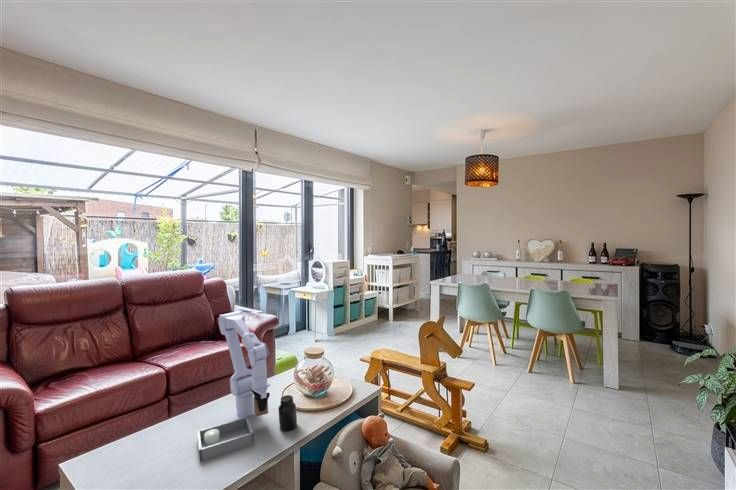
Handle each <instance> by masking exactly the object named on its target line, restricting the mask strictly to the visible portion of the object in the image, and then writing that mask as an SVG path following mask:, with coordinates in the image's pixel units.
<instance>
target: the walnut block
mask: <svg viewBox="0 0 736 490" xmlns="http://www.w3.org/2000/svg"><path fill="white" fill-rule="evenodd" d="M253 397H254V396H253ZM268 400H269V399H268ZM268 400H267V404H266V409H265V411H262V412H260V411H259V408H258V403H257V400H256V399H255V397H254V412H255V414H254V415H255V416H256V417H260V416H263V415H268V414H269V406H268V405H269V403H268Z"/></svg>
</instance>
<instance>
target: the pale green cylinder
mask: <svg viewBox="0 0 736 490" xmlns="http://www.w3.org/2000/svg"><path fill="white" fill-rule="evenodd" d="M204 441H205V447H207V446H211V445H214V444H217V443H220V437H219V430H218V429H212V430H209V431H207V432H206V433H205V434H204Z"/></svg>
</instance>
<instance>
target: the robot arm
mask: <svg viewBox="0 0 736 490" xmlns="http://www.w3.org/2000/svg"><path fill="white" fill-rule="evenodd" d="M245 316H246V315H245V313H244V312H243V310H238V311H237V310H236V311H233V312H228V313H224V314H223V313H222V314H221V313H220V314H219V317H218V326H219V327H218V328H219V331H220V333H221V335H223V336H225V339H226V344H227V347H228V352H229V354H230V360H231V362H232V366H233V370H234V373H233V374H232V375H231V377H230V379H229V384H230V387H229V388H230V392H231V394H232V396H234V397H235V408H234V409H233V412H234V414H235V417H236V420H237V419H240V418H244V417H250V416H254V415H256V414H255V412H254V397H255V399H256V400H257V403H258V408H259V411H260V412H262V411H265V409H266V404H267V400H269V397H270V392H268V388H269V387H271V383H270V382H268V372H267V370H268V369H267V358H268V357H269V355H270V352H269V347H268V345H267V343H265V342H262V341H260V340H259V338H258V337H257V335H256V334H255V333H254V332H250V330H249V327H248V326H247V324H246V317H245ZM239 336H240V337H241V343H242V345H243V346H244V348H245V350H246V351H247V356H248V360H249V365H250V367H251V369H249V368H247V365H246V362H245V358H244V355H243V350H242V346H241V343H240V338H239Z"/></svg>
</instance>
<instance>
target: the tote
mask: <svg viewBox="0 0 736 490" xmlns="http://www.w3.org/2000/svg"><path fill="white" fill-rule="evenodd" d="M212 429H218V430H219V437H220V443H217V444H214V445H211V446H207V447H205V441H204V434H205V433H206V432H207V431H209V430H212ZM254 433H255V432H254V431H253V427H252V425H251V422H250V420H249V416H247V417H243V418H240V419H237V418H236V419H234V420H231V421H227V422H223V423H219V424H216V425H213V426H210V427H206V428H203V429H199V430H197V431H196V434H197V435H196V436H197V444H198V445H197V446H198V447H197V448H198V455H199V456H198V457H199V462H202V461H206V460H209V459H211V458H215V457H218V456H220V455H224V454H226V453H229V452H234V451H237V450H239V449H242V448H245V447H248V446H251V445H254V444H255V436H254V435H255V434H254Z"/></svg>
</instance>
